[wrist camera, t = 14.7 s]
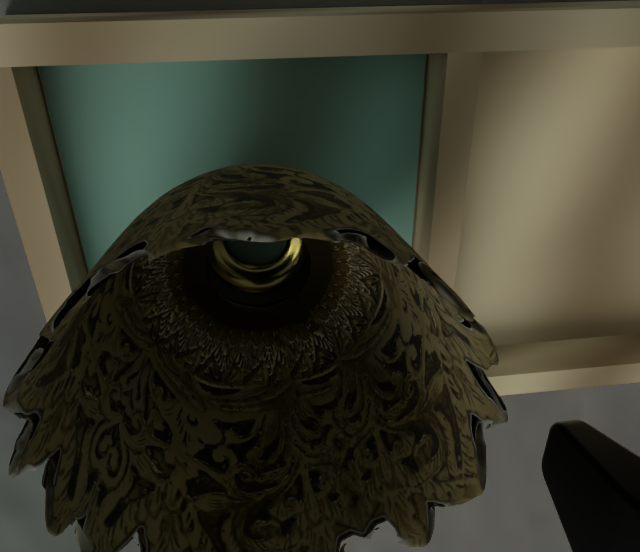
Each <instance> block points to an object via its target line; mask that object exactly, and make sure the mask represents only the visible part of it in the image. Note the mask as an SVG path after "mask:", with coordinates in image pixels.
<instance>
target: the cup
mask: <svg viewBox="0 0 640 552" xmlns="http://www.w3.org/2000/svg"><path fill="white" fill-rule="evenodd" d="M235 240H244V241H251V242H276V241H283V240H287V243H286V246H285V249H284V251H283V252H282V253H281V255H280V256H279V257H278V258H276V259H275V260H273V261H271V262H269V263H266V264H262V265H252V264H247V263H245V262H242V261H240V260H239V259H237V258H236V257H235V256H234V255H233V254H232V252H231V251H230V249H229V247H228V243H227V241H235ZM474 317H476V316H475V315H474V314H473V313H472V311H471V310H470V309H469V308H468V306H467V305H466V304H465V303H464V302H463V300H462V299H461V298H460V297H459V296H458V295H457V293H456V292H455V291H454V290H453V289H452V288H450V287H449V286H448V285H447V284H446V283H445V282H444V281H443V280H442V279H441V278H440V277H439V276H438V275H437V274H436V273H435V272H434V271H433V269H432V268H431V267H430V266H429V265H428V264H427V263H426V262H425V261H424V260H423V259H422V258H421V257H420V256H419V255H418V253H417V252H416V251H415V250H414V249H413V248H412V247H411V246H410V245H409V244H408V243H407V242H406V241H405V240H404V239H403V238H402V237H401V236H400V235H399V234H398V233H397V232H396V231H395V230H394V229H393V228H392V227H391V226H390V225H389V224H388V223H387V222H386V221H385V220H384V219H383V218H382V217H381V216H380V215H379V214H378V213H377V212H375V211H374V210H373V209H372V208H371V207H370V206H368V205H367V204H366V203H364V202H363V201H362V200H361V199H359V198H358V197H357V196H355V195H354V194H352V193H351V192H350V191H348V190H346V189H345V188H343V187H341V186H339V185H338V184H336V183H334V182H332V181H330V180H328V179H325V178H323V177H321V176H318V175H316V174H313V173H310V172H307V171H304V170H301V169H297V168H293V167H287V166H282V165H273V164H243V165H236V166H229V167H225V168H221V169H217V170H213V171H210V172H207V173H204V174H202V175H199V176H196V177H194V178H192V179H190V180H188V181H186V182H184V183H182V184H180V185H178V186H176V187H174V188H173V189H171V190H170V191H168V192H167V193H165V194H164V195H162V196H161V197H159V198H158V199H157V200H156V201H154V202H153V203H152V204H151V205H150V206H149V207H147V208H146V209H145V210H144V211H143V212H142V213H140V214H139V215H138V216H137V217H136V218H135V219H134V220H133V221H132V222H131V223H130V225H129V226H128V227H127V228H126V229H125V230H124V231H123V232H122V233H121V234H120V236H119V237H118V238H117V239H116V240H115V241H114V242H113V244H112V245H111V246H110V247H109V248H108V250H107V251H106V252H105V253H104V254H103V256H102V257H101V258H100V259H99V261H98V262H97V263H96V264H95V266H94V267H93V268H92V269H91V271H90V272H89V273H88V275H87V276H86V277H85V278H84V280H83V281H82V282H81V284H80V285H79V286H78V287H77V288H76V289H75V290H74V291H73V292H72V293H71V294H70V295H69V296H68V297H67V299H66V300H65V301H64V302H63V304H62V305H61V306H60V307H59V308H58V310H57V311H56V312H55V313H54V315H53V316H52V317H51V319H50V320H49V321H48V322H47V324H46V325H45V327H44V328H43V329H42V331H41V332H40V334H39V335H41V336H40V338H39V339H38V341H37V343H36V344H35V346H34V347H33V349H32V350H31V352H30V353H29V355H28V356H27V358H26V359H25V361H24V362H23V363H22V365H21V366H20V368H19V369H18V371H17V372H16V374H15V375H14V377H13V379H12V380H11V382H10V384H9V386H8V388H7V391H6V393H5V396H4V401H3V408H4V409H6V410H9V411H10V412H12V413H14V414H15V415H17V416H18V417H19V418H20V419H21V417H22V418H23V419H27V420H26V423H25V425H24V427H23V429H22V431H21V433H20V435H19V437H18V439H17V440H16V443H15V448H14V452H13V454H12V457H11V460H10V464H9V475H10V476H11V477H15V476H17V475H19V474H21V473H22V472H24V471H27V470H33V469H34V470H37V469H35V468H36V467H38V466H40V465H41V464H42V463H43V462H45V461H46V460H47V459H48V461H47V463H46V466H45V470H44V474H43V478H42V485H43V487H44V488H45V490H46V501H45V520H46V527H47V531H48V532H49V533H50V534H51V535H53V536H57V535H60V534H62V532H63V531H64V530H65V529H66V528H67V527H68V526H69V524H71V525H73V523H74V522H75V520H76V530H75V535H76V537H77V540H78V542H79V545H80V549H81V552H119V551H120V550H121V549H123V548H124V547H125V546H126V545H127V544H128V543H129V542H130V541H131V540H132V539H133V537H132V536H133V535H134V534H135V532H137V533H138V537H139V538H138V539H139V543H140V548H141V552H339V548H340V544H341V542H342V541H343V540H345V539H346V538H348V537H351V536H352V535H357V536H360V537H363V538H364V539H370V538H371V536H372V534H373V532H374V530H377V529H379V528H376V529H374V528H375V526H376V525H377V524H380V523H382V522H385V521H389V523H390V524H391V525H392V526H393V527H394V528H395V530H396V532H397V536H398V537H399V538H401V539H402V541H400V542H399V543H400V544H402V545H405V546H407V547H423V546H425V545H427V544H428V543H429V541H430V539H431V537H432V534H433V530H434V518H435V516H434V515H435V508H434V507H435V506H439V507H445V506H446V507H454V506H458V505H460V504H463V503H465V502H467V501H469V500H471V499H473V498H474V497H476V496H478V495H481V494H482V492H483V491H484V489H485V484H486V445H485V442H484V437H483V422H487V421H489V422H491V424H488V426H487V427H486V429H488V428H489V427H491V428H492V427H494V426H495V425H497V424H501V423H503V422H506V423H507V421H508V416H507V410H506V407H505V404H504V403H503V401H502V399H501V398H500V396H499V395H498V393H497V392H496V390H495V389H494V387H493V386H492V384H491V383H490V381H489V380H488V378H487V376H486V374H485V373H484V371H483V370H485V371H487V370H488V369H489V368H490V367H491V366H492V365H493V366H497V365H498V363H499V358H498V354H497V351H496V348H495V346H494V344H493V342H492V340H491V338H490V336H489V335H488V333H487V331H486V330H485V328H484V327H483V326H482V325H481V324H479V323H478V322H477V321H476V320H475V319H474ZM15 412H21V413H15ZM434 504H436V505H434ZM373 529H374V530H373ZM345 545H346V543H345V544H344V545H343V546H342V547H341V549H340V552H344V547H345ZM138 546H139V544H138Z"/></svg>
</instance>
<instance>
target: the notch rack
mask: <svg viewBox="0 0 640 552" xmlns="http://www.w3.org/2000/svg"><path fill="white" fill-rule="evenodd" d="M243 164H273V165H282V166H287V167H293V168H297V169H301V170H304V171H307V172H310V173H313V174H316V175H318V176H321V177H323V178H325V179H328V180H330V181H332V182H334V183H336V184H338V185H339V186H341V187H343V188H345V189H346V190H348V191H350V192H351V193H352V194H354V195H355V196H357V197H358V198H359V199H361V200H362V201H363V202H364V203H366V204H367V205H368V206H370V207H371V208H372V209H373V210H374V211H375V212H377V213H378V214H379V215H380V216H381V217H382V218H383V219H384V220H385V221H386V222H387V223H388V224H389V225H390V226H391V227H392V228H393V229H394V230H395V231H396V232H397V233H398V234H399V235H400V236H401V237H402V238H403V239H404V240H405V241H406V242H407V243H408V244H409V245H410V246H411V247H412V248H413V249H414V250H415V251H416V252H417V253H418V255H419V256H420V257H421V258H422V259H423V260H424V261H425V262H426V263H427V264H428V265H429V266H430V267H431V268H432V269H433V271H434V272H435V273H436V274H437V275H438V276H439V277H440V278H441V279H442V280H443V281H444V282H445V283H446V284H447V285H448V286H449V287H450V288H452V289H453V290H454V291H455V292H456V293H457V295H458V296H459V297H460V298H461V299H462V300H463V302H464V303H465V304H466V305H467V306H468V308H469V309H470V310H471V311H472V313H473V314H474V315H475V316H476V317H474V319H475V320H476V321H477V322H478V323H479V324H481V325H482V326H483V327H484V328H485V330H486V331H487V333H488V335H489V336H490V338H491V340H492V342H493V344H494V346H495V348H496V351H497V354H498V358H499V363H498V365H497V366H493V365H492V366H491V367H490V368H489V369H488V370H487V371H485V370H483V371H484V373H485V374H486V376H487V378H488V380H489V381H490V383H491V384H492V386H493V387H494V389H495V390H496V392H497V393H498V395H499V396H502V395H512V394H522V393H533V392H543V391H553V390H564V389H574V388H584V387H595V386H605V385H615V384H626V383H636V382H640V0H633V1H590V2H547V3H504V4H461V5H418V6H375V7H332V8H289V9H246V10H203V11H159V12H116V13H73V14H30V15H2V16H0V170H1V173H2V177H3V180H4V183H5V186H6V190H7V193H8V196H9V199H10V203H11V206H12V209H13V213H14V216H15V219H16V222H17V226H18V229H19V232H20V235H21V239H22V242H23V245H24V249H25V252H26V255H27V258H28V262H29V265H30V268H31V272H32V275H33V278H34V281H35V285H36V288H37V291H38V294H39V298H40V301H41V304H42V308H43V311H44V314H45V317H46V321H47V322H48V321H49V320H50V319H51V317H52V316H53V315H54V313H55V312H56V311H57V310H58V308H59V307H60V306H61V305H62V304H63V302H64V301H65V300H66V299H67V297H68V296H69V295H70V294H71V293H72V292H73V291H74V290H75V289H76V288H77V287H78V286H79V285H80V284H81V282H82V281H83V280H84V278H85V277H86V276H87V275H88V273H89V272H90V271H91V269H92V268H93V267H94V266H95V264H96V263H97V262H98V261H99V259H100V258H101V257H102V256H103V254H104V253H105V252H106V251H107V250H108V248H109V247H110V246H111V245H112V244H113V242H114V241H115V240H116V239H117V238H118V237H119V236H120V234H121V233H122V232H123V231H124V230H125V229H126V228H127V227H128V226H129V225H130V223H131V222H132V221H133V220H134V219H135V218H136V217H137V216H138V215H139V214H140V213H142V212H143V211H144V210H145V209H146V208H147V207H149V206H150V205H151V204H152V203H153V202H154V201H156V200H157V199H158V198H159V197H161V196H162V195H164V194H165V193H167V192H168V191H170V190H171V189H173V188H174V187H176V186H178V185H180V184H182V183H184V182H186V181H188V180H190V179H192V178H194V177H196V176H199V175H202V174H204V173H207V172H210V171H213V170H217V169H221V168H225V167H229V166H236V165H243ZM227 243H228V247H229V249H230V251H231V252H232V254H233V255H234V256H235V257H236V258H237V259H239V260H240V261H242V262H245V263H247V264H252V265H262V264H266V263H269V262H271V261H273V260H275V259H276V258H278V257H279V256H280V255H281V253H282V252H283V251H284V249H285V246H286V243H287V240H283V241H276V242H251V241H244V240H235V241H227Z"/></svg>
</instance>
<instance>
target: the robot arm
mask: <svg viewBox="0 0 640 552" xmlns="http://www.w3.org/2000/svg"><path fill="white" fill-rule="evenodd" d="M542 472H543V476H544V479H545V481H546V484H547V487H548V489H549V492H550V494H551V497H552V500H553V502H554V505H555V507H556V510H557V512H558V515H559V518H560V520H561V523H562V525H563V528H564V531H565V533H566V536H567V538H568V541H569V543H570V546H571V549H572V551H573V552H640V457H639V456H637V455H636V454H634V453H633V452H631V451H629V450H628V449H626V448H625V447H623V446H622V445H620V444H618V443H617V442H615V441H614V440H612V439H611V438H609V437H607V436H606V435H604V434H603V433H601V432H600V431H598V430H596V429H595V428H593V427H592V426H590V425H589V424H587V423H585V422H583V421H580V420H573V421H563V422H556V423H554V424H553V425H552V426H551V428H550V431H549V435H548V439H547V443H546V447H545V451H544V454H543V458H542Z"/></svg>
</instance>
